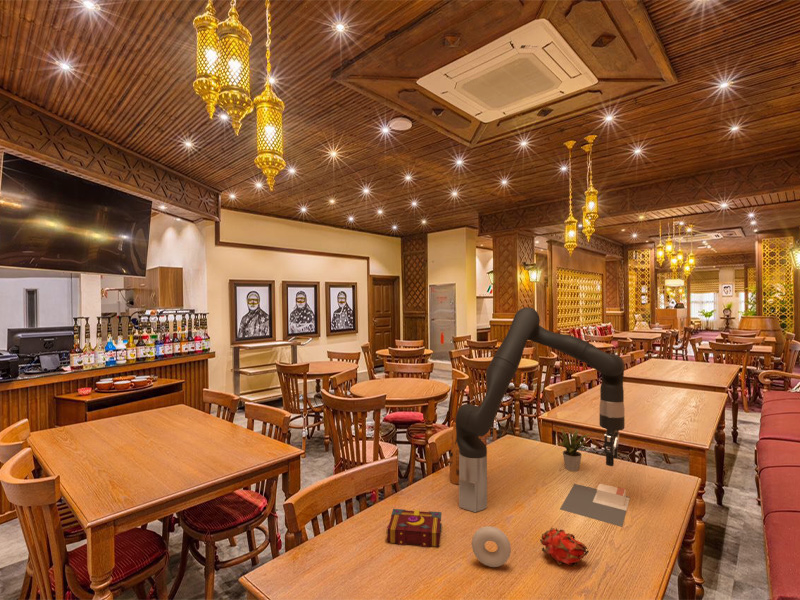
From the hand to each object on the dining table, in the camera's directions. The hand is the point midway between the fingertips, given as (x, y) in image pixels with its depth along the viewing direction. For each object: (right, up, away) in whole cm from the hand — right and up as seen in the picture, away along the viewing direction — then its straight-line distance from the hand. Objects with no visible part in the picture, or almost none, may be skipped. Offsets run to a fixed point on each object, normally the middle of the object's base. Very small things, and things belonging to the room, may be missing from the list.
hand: (611, 461), depth 136 cm
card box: (0, -13, +1) cm, 13 cm away
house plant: (-1, -14, +26) cm, 30 cm away
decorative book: (-68, -15, -17) cm, 72 cm away
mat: (-6, -14, -1) cm, 15 cm away
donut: (-48, -15, -32) cm, 59 cm away
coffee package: (-47, -15, +17) cm, 52 cm away
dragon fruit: (-28, -15, -30) cm, 43 cm away
